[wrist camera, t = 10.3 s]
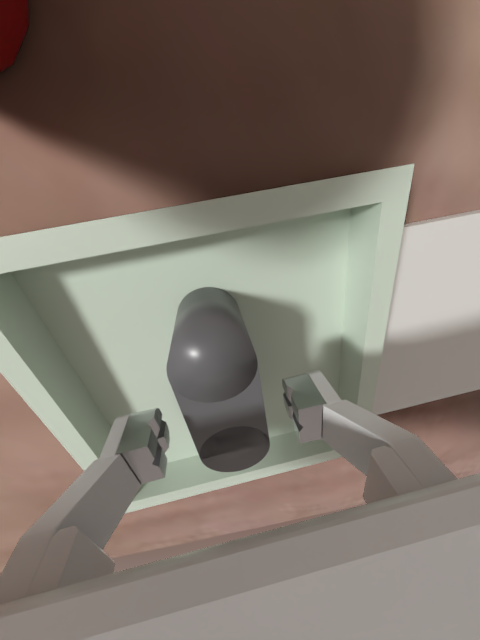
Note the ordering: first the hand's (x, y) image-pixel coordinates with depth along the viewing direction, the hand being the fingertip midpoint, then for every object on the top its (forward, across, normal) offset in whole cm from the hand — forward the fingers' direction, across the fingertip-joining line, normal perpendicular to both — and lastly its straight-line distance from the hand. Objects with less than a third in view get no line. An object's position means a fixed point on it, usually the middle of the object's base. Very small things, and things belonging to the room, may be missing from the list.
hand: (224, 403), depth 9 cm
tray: (+4, 0, +1) cm, 4 cm away
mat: (+4, -14, +2) cm, 15 cm away
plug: (+4, 0, 0) cm, 4 cm away
